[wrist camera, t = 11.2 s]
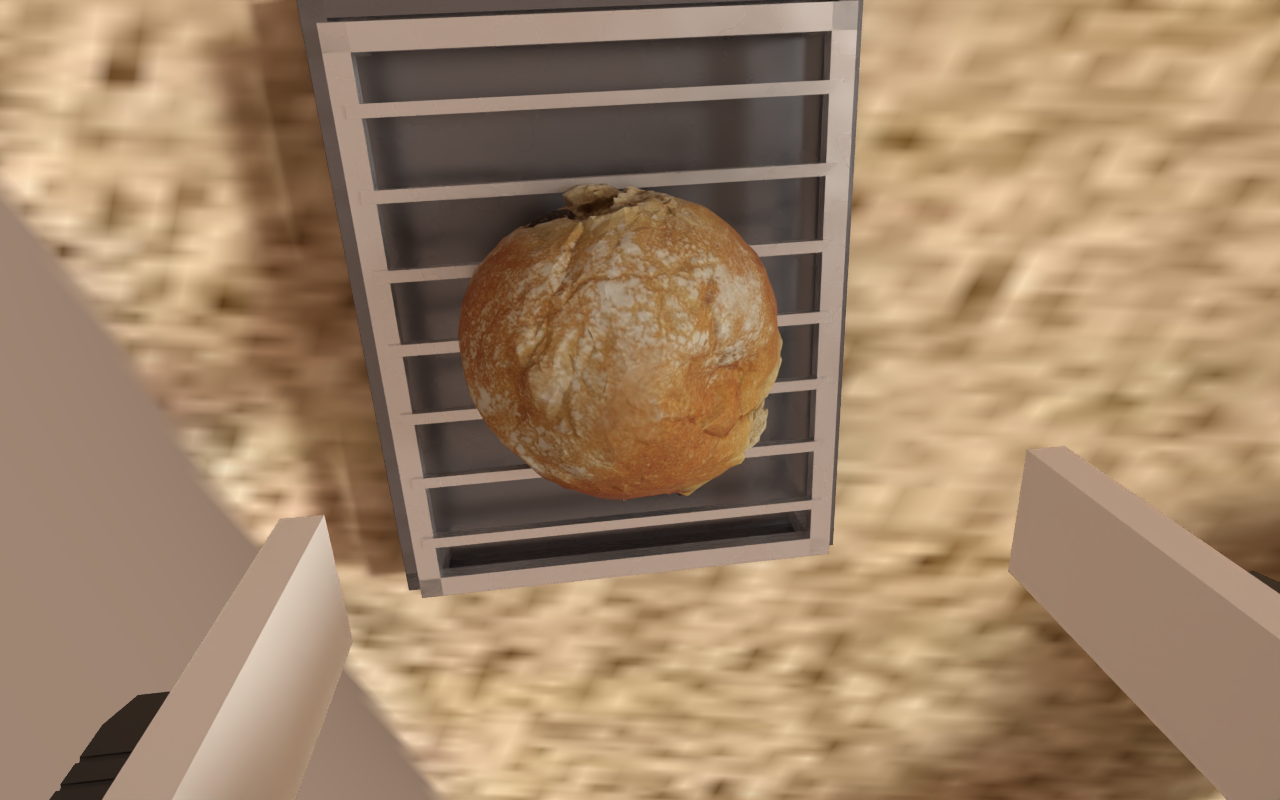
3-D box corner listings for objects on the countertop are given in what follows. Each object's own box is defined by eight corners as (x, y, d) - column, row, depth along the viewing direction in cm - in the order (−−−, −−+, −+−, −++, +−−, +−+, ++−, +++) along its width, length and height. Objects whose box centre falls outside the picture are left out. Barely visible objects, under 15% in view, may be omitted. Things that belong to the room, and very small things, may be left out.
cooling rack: (847, -25, 27) (894, -43, 23) (820, 525, 35) (852, 575, 32) (309, -5, 25) (269, -20, 22) (415, 568, 33) (399, 625, 30)
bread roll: (691, 165, 28) (682, 72, 20) (829, 414, 28) (875, 418, 20) (457, 299, 29) (361, 259, 21) (587, 543, 29) (539, 597, 21)
